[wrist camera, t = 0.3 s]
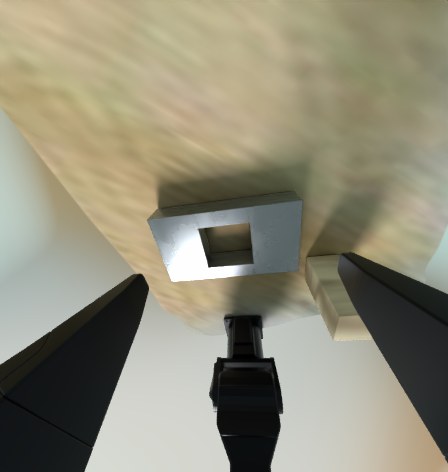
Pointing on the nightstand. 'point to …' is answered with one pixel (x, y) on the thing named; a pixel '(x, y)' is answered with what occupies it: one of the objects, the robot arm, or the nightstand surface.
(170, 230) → the grey slotted block
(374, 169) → the nightstand surface
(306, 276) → the ash peg
